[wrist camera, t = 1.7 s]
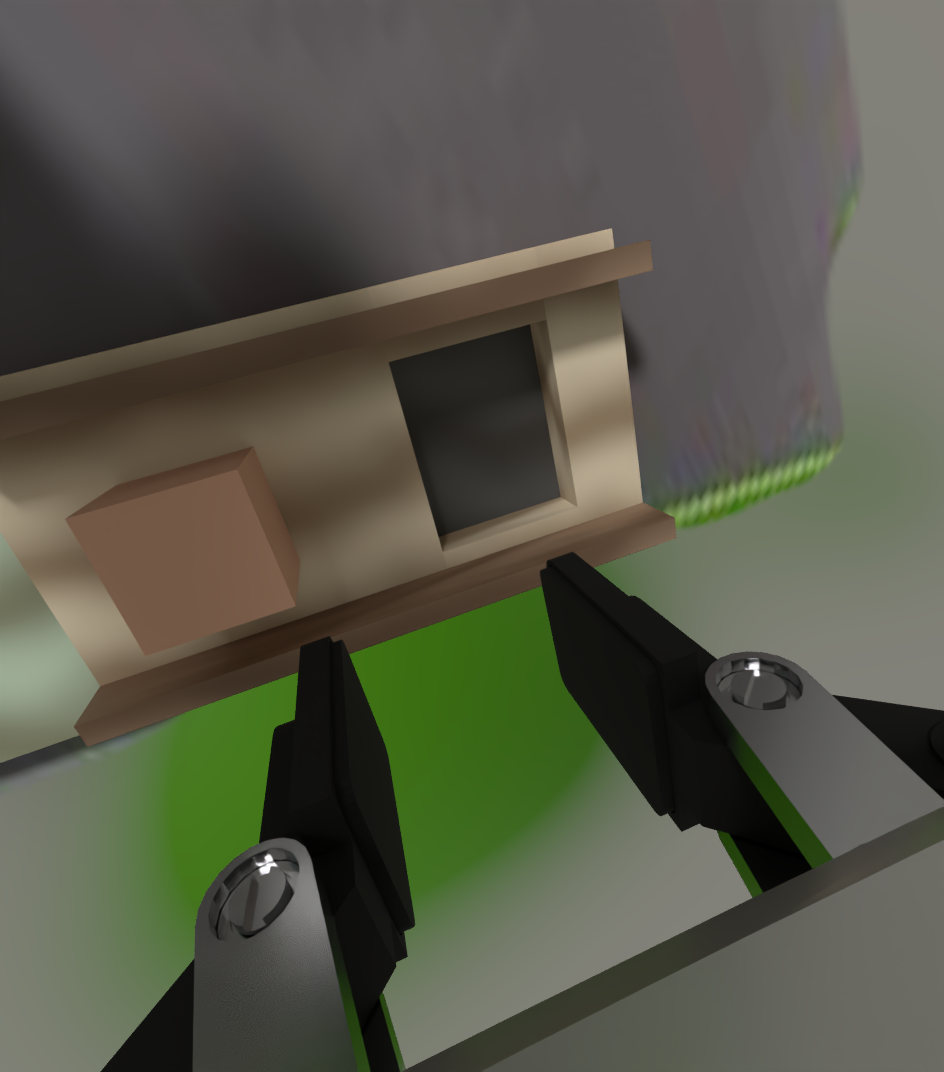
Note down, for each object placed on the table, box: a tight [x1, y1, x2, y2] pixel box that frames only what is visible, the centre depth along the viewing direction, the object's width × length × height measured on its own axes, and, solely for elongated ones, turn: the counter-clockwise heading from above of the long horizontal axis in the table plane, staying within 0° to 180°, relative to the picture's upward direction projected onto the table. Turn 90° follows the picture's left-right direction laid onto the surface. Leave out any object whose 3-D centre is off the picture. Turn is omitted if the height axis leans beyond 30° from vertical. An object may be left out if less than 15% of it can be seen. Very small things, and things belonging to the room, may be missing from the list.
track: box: [0, 228, 676, 763], centre depth 25 cm, size 16×40×6 cm, turn 104°
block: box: [65, 446, 300, 656], centre depth 22 cm, size 6×6×5 cm
